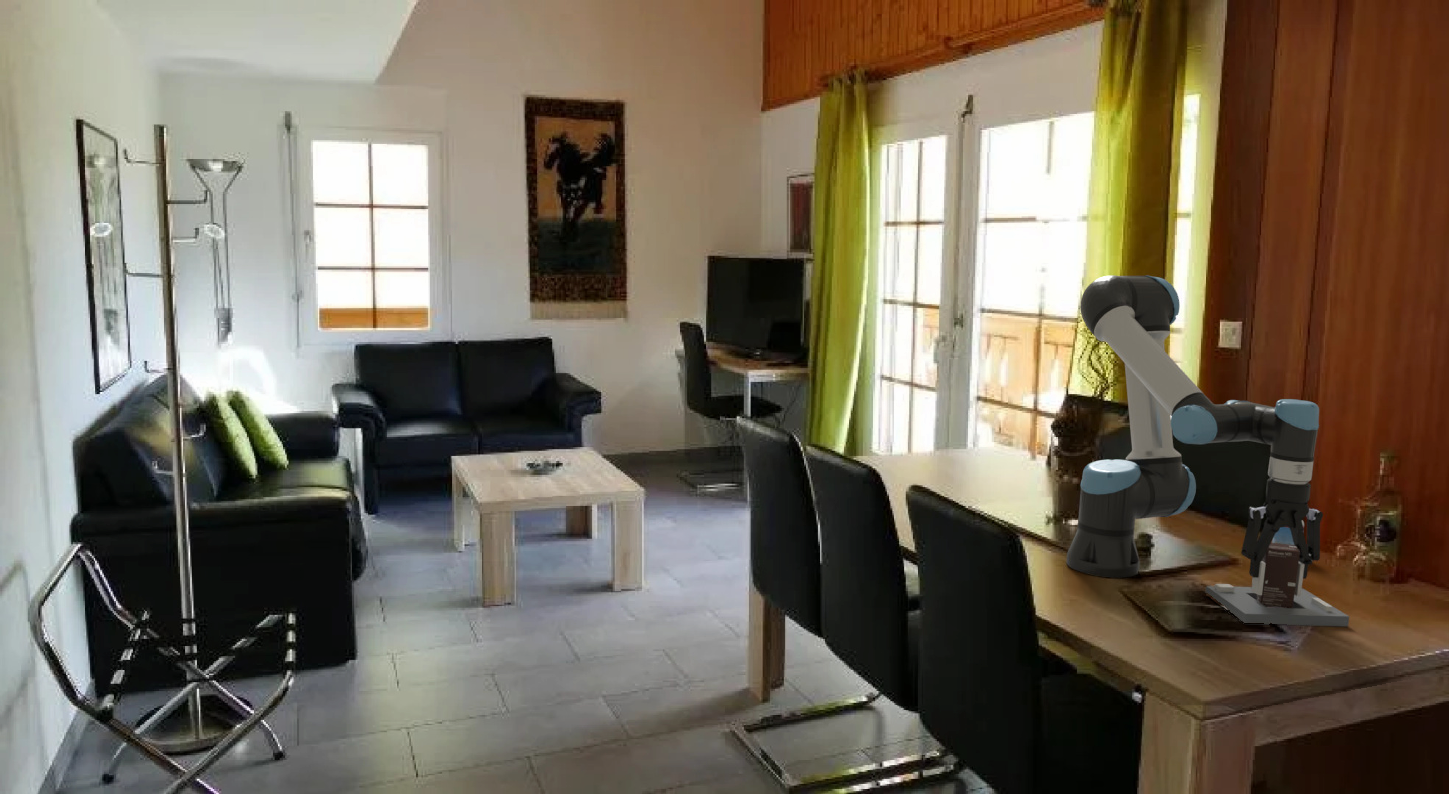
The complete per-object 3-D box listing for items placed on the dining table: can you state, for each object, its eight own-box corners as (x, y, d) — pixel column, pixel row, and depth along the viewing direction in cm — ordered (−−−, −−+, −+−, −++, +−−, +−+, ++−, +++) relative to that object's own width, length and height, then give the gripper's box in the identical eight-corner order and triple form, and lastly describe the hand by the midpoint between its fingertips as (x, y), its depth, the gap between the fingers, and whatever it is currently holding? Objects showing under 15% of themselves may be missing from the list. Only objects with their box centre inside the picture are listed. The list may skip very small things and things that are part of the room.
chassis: (1244, 623, 202) (1245, 608, 201) (1205, 595, 217) (1206, 581, 217) (1348, 626, 202) (1350, 611, 202) (1301, 597, 218) (1303, 583, 217)
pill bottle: (1304, 560, 244) (1309, 513, 242) (1275, 558, 245) (1281, 510, 244) (1295, 552, 250) (1301, 506, 248) (1267, 550, 251) (1273, 504, 250)
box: (1260, 606, 208) (1266, 547, 206) (1256, 599, 213) (1262, 541, 211) (1294, 610, 207) (1300, 550, 205) (1289, 602, 211) (1295, 544, 209)
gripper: (1248, 482, 202) (1235, 598, 205) (1351, 485, 202) (1336, 601, 206) (1229, 473, 209) (1216, 585, 213) (1328, 476, 210) (1314, 588, 213)
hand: (1275, 593), depth 209 cm, fingers open, 7 cm apart
